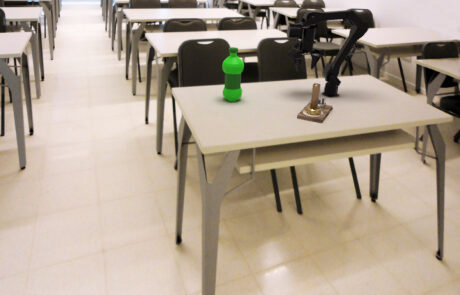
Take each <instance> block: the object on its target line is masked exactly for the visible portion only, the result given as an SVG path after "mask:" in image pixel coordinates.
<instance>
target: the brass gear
mask: <svg viewBox="0 0 460 295" xmlns="http://www.w3.org/2000/svg"><path fill="white" fill-rule="evenodd" d="M311 89H312V90H311V96H310V97H311V98H310V102H311V104H310V106H307V107H306V108H305V113H307V114H308V115H313V116H316V115H321V111H322V109H321V108H319V107H318V100H320V99H319V98H320V91H321V84H320V83H317V82H315V83H313V84H312V88H311Z"/></svg>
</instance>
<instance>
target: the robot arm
mask: <svg viewBox="0 0 460 295" xmlns="http://www.w3.org/2000/svg"><path fill="white" fill-rule="evenodd" d="M338 20H340V21H342V20H347V21H348V23H349V24H350V25H351V26H350V29H349V33H348V36H347V38H346V40H345V41H344V42H343V44H342V46H341V48H340V49H339V50H338V53H337V54H336V55H335V57H334V59H333V60H332V62H330V63H328V62H326V63H325V66H324V67H323V68H322V73H321V74H322V77H323V79H324V81H325V85H324V87H323V88H324V89H323V92H321V94H322V95H324V96H327V97H328V98H334V97H338V96H339V97H340V94H339V93H338V91H339V87H340V85H341V83H342V81H341V80H340V79H339V75H340V71H341V67H342V65H343V63H345V60H346V59H347V58H348V55H349V54H350V53H351V51H352V49H353V48H354V47H355V45H356V43H357V42H358V41H359V40H360V39H361V38H362V37H365V35H366V34H367V32H368V31H369V29H370V28H369V27H370V26H369V23H368V22H367V21H365V20H362V18H361V17H359V16H358V14H356V13H355V11H354V10H352V9H346V10H330V11H319V10H312V9H308V10H306V11H305V12H304V13H303V16H302V18H301V19H300V20H299V22H298V23H292V22H291V23H290V22H289V23H288V27H287V29H286V38H287V39H300V40H299V42H297V41H292V42H291V45H290V48H291V49H290V50H289V51H288V52H287V57H289V58H290V59H292V61H293V63H294V66H295V71H296V72H299V70H300V66H301V63H302V56H308V55H310V57H311V62H310V69H311V70H314V68H316V65H317V63H318V62H319V61H320V59H322V58H323V56H325V54H326V51H325V49H323V48H320V47H314V44H316V42H317V41H316V40H315V36H316V30H320V29H321V26H319V25H318V24H320V23H321V22H325V21H326V22H327V21H338ZM301 38H302V39H301Z"/></svg>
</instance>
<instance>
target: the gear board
mask: <svg viewBox="0 0 460 295" xmlns="http://www.w3.org/2000/svg"><path fill="white" fill-rule="evenodd" d="M310 104H311V101H309V102H308V103H307V104H306V105H305V106H304V107H303V108H302V109H301V110H300V112H299V113H298V114H297V115H296V116H297V117H296V118H297V119H300V120H304V121H311V122H315V123H319V124H322V123H323V122H324V121H325V119H326V118H327V117H328V115H329V114H330V113H331V111H332V110H333V105H331V104H327V102H325V98H322V99H319V100H318V107H319V108H321V109H322V111H321V115H316V116H313V115H308V114H307V113H305V108H306V107H307V106H310Z"/></svg>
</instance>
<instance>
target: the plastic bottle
mask: <svg viewBox="0 0 460 295" xmlns="http://www.w3.org/2000/svg"><path fill="white" fill-rule="evenodd" d="M228 53H229V56H227V57H226V58H225V59H224V60H223V62H222V65H221V66H222V67H221V68H222V71H223V73H224V87H223V89H222V95H223V97H224V98H225V99H226V100H227V101H228V102H237V101H238V100H239V99H241V97H242V95H243V88H242V87H241V83H242V72H244V69H245V68H244V67H245V63H244V61H243V60H242V59H241V58H240V56H238V53H239V48H238V47H233V46H232V47H229V48H228Z"/></svg>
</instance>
